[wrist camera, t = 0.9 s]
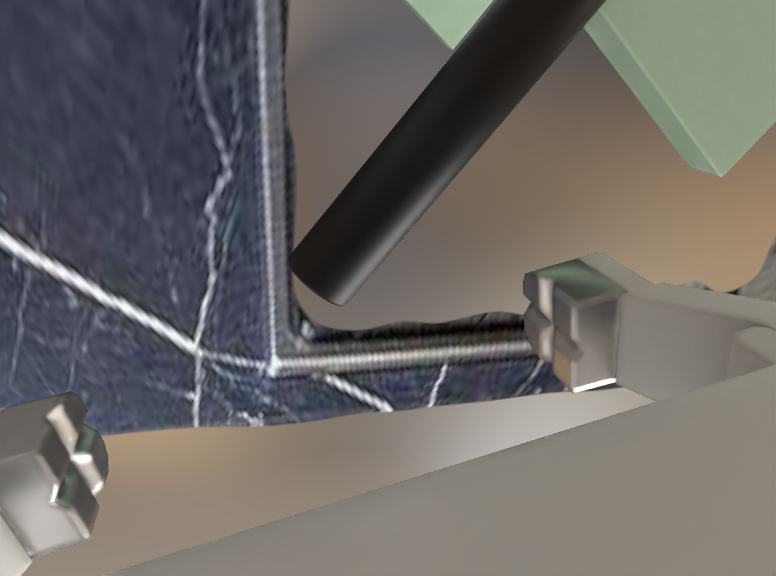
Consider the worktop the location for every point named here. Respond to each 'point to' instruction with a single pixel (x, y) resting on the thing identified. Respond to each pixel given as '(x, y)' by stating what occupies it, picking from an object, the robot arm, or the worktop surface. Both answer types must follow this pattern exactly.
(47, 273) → the worktop surface
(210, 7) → the worktop surface
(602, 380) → the robot arm
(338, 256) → the cake knife
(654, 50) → the cake stand
